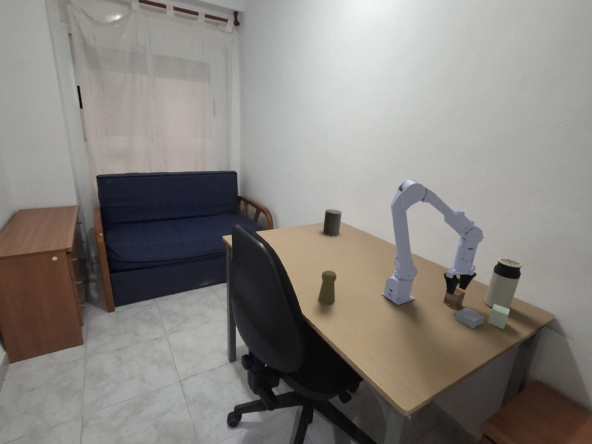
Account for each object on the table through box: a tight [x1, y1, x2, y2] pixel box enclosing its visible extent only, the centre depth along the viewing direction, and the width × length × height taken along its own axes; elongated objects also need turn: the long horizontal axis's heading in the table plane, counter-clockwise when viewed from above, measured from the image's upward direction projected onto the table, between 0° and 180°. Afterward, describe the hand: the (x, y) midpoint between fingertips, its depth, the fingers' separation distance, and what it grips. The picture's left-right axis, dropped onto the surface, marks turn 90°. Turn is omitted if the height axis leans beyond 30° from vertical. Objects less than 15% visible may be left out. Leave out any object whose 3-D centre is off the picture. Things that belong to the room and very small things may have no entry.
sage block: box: [487, 304, 511, 330], centre depth 98 cm, size 4×4×6 cm
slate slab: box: [455, 307, 485, 329], centre depth 99 cm, size 6×6×3 cm
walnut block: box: [443, 287, 466, 309], centre depth 108 cm, size 4×4×6 cm
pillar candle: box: [322, 208, 343, 236], centre depth 175 cm, size 10×10×15 cm
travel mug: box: [483, 257, 524, 309], centre depth 107 cm, size 8×8×18 cm
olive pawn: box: [317, 269, 337, 305], centre depth 104 cm, size 6×6×11 cm
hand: (456, 291), depth 107 cm, fingers open, 7 cm apart
